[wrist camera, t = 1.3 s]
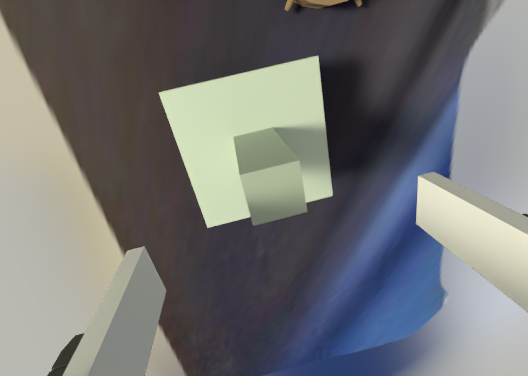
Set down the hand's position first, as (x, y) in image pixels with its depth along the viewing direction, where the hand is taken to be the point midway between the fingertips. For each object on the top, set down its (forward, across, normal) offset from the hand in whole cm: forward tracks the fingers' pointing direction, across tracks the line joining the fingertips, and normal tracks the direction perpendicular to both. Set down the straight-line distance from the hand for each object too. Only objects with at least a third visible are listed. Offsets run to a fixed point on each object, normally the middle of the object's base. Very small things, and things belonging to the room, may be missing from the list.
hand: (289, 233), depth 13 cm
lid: (+14, 0, 0) cm, 14 cm away
